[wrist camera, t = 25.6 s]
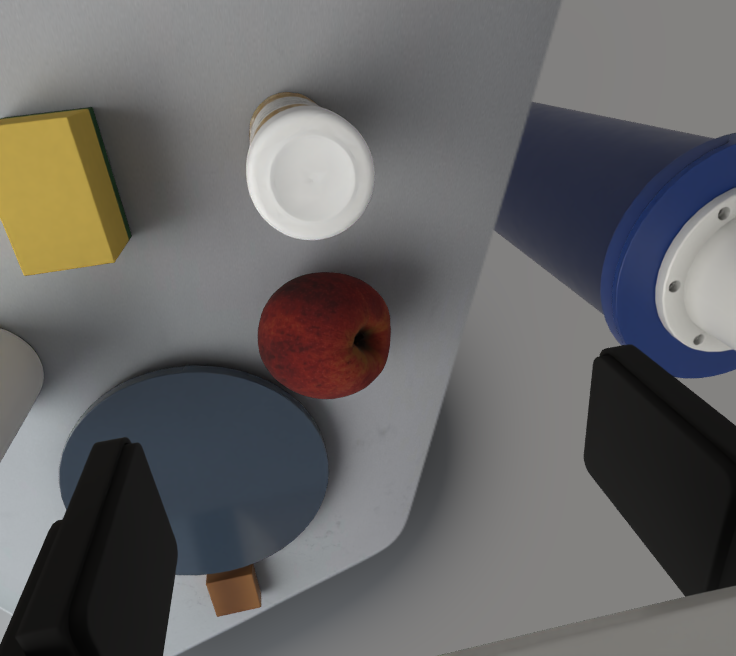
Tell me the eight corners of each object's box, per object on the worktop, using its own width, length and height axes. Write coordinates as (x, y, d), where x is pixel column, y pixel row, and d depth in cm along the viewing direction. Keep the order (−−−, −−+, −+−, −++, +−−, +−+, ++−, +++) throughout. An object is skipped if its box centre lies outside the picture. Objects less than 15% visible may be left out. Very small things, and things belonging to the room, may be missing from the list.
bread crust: (252, 559, 45) (252, 574, 44) (261, 592, 47) (261, 607, 46) (206, 569, 45) (205, 584, 44) (217, 602, 47) (216, 617, 45)
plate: (307, 339, 37) (309, 349, 36) (340, 532, 46) (342, 546, 44) (23, 388, 35) (14, 401, 34) (111, 581, 44) (107, 597, 42)
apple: (380, 350, 39) (408, 417, 32) (267, 367, 38) (269, 441, 31) (373, 247, 35) (402, 298, 28) (248, 263, 34) (246, 320, 27)
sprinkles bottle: (324, 180, 33) (366, 249, 21) (244, 170, 32) (241, 236, 20) (335, 97, 31) (388, 121, 19) (250, 82, 30) (251, 98, 18)
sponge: (3, 117, 29) (-37, 129, 25) (92, 106, 29) (67, 116, 25) (52, 247, 32) (23, 276, 28) (132, 236, 32) (115, 262, 28)
